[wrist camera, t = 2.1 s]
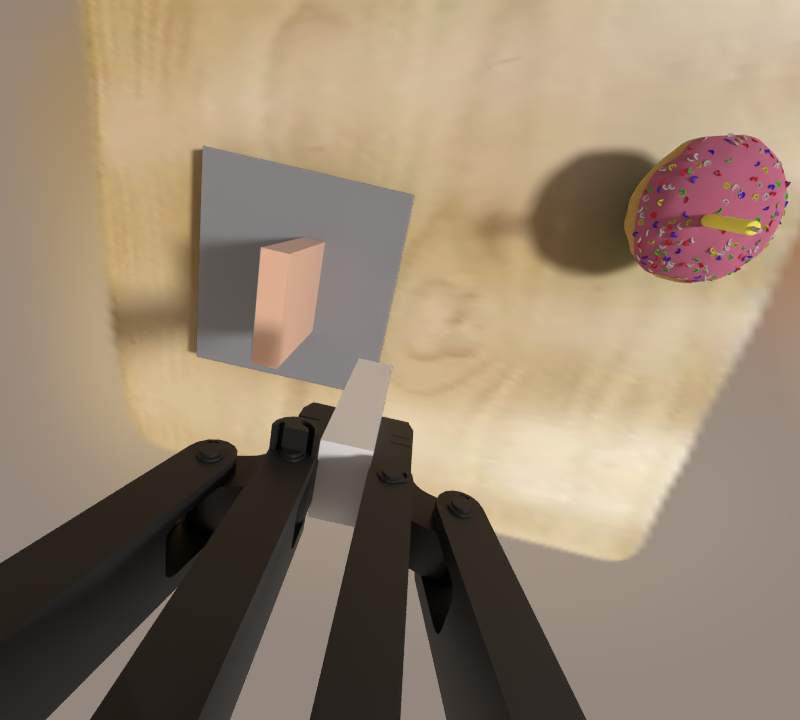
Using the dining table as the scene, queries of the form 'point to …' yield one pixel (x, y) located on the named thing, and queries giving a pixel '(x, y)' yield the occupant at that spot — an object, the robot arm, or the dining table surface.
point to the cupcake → (706, 208)
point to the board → (287, 220)
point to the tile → (285, 298)
